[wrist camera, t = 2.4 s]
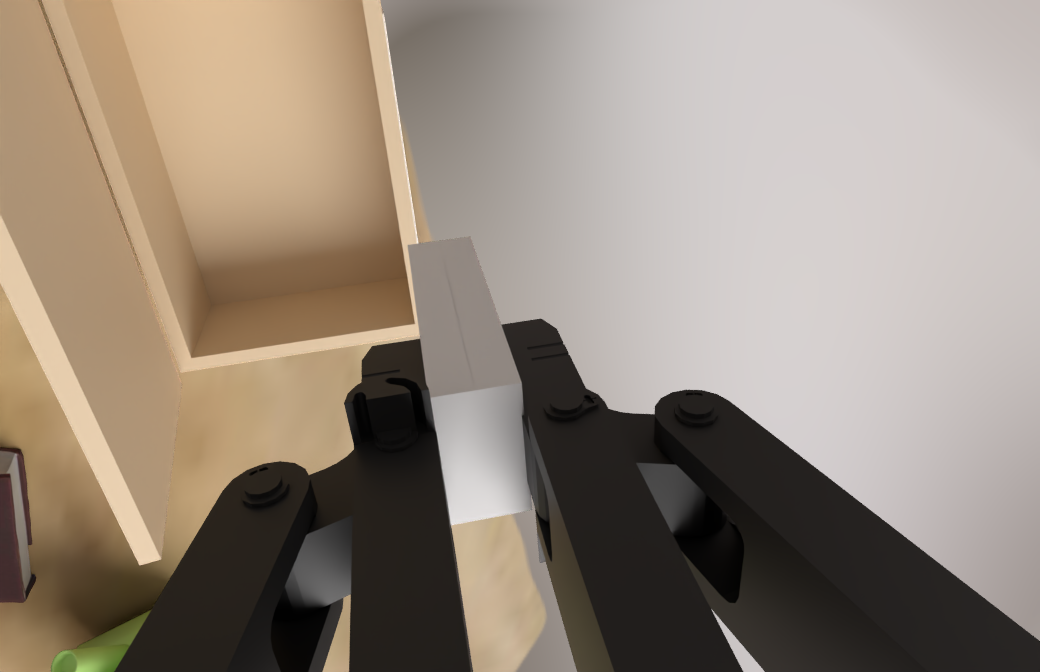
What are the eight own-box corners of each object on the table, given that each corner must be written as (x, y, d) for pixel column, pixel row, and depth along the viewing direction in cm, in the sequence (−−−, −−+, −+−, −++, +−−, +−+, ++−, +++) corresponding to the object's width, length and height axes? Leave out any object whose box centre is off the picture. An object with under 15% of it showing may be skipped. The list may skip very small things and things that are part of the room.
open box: (69, -84, 34) (9, -86, 28) (364, -105, 36) (365, -111, 30) (203, 314, 45) (180, 372, 39) (422, 282, 47) (432, 333, 41)
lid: (0, -99, 28) (-26, -97, 27) (-157, -120, 17) (-202, -118, 16) (182, 384, 39) (164, 387, 39) (161, 559, 28) (136, 566, 28)
